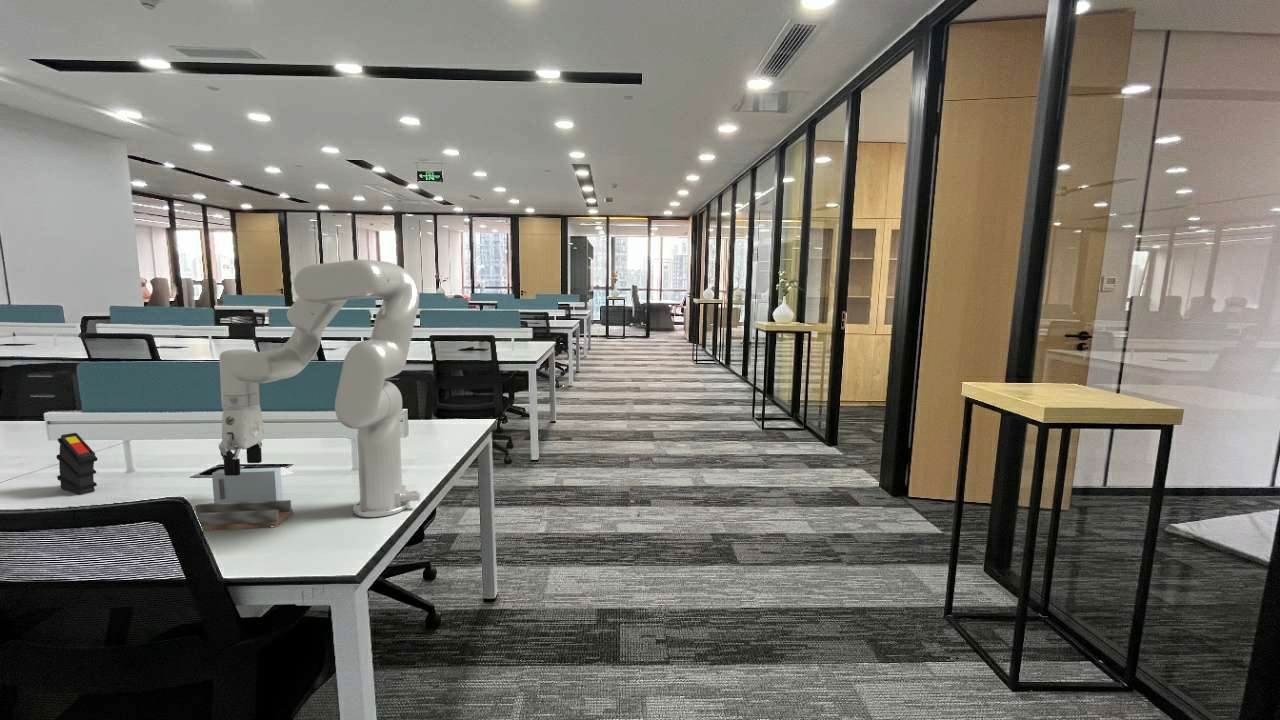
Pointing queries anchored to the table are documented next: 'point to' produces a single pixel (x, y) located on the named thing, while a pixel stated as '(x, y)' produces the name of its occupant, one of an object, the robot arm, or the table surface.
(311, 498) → the table surface
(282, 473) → the external hard drive
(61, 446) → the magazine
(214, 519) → the track base
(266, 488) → the door panel
